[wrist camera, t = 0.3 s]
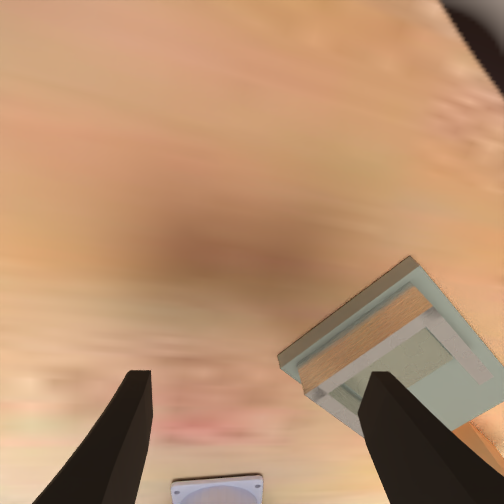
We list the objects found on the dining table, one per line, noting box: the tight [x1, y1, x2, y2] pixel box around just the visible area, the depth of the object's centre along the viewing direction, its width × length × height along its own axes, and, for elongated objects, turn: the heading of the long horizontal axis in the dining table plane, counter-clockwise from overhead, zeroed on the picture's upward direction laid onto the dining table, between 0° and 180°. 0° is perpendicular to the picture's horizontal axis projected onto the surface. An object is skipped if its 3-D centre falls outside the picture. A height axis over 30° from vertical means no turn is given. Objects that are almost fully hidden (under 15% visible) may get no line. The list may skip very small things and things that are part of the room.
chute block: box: [451, 422, 504, 476], centre depth 29 cm, size 6×5×6 cm
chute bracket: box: [296, 281, 494, 438], centre depth 22 cm, size 8×9×2 cm
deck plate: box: [278, 256, 504, 431], centre depth 25 cm, size 16×11×1 cm
